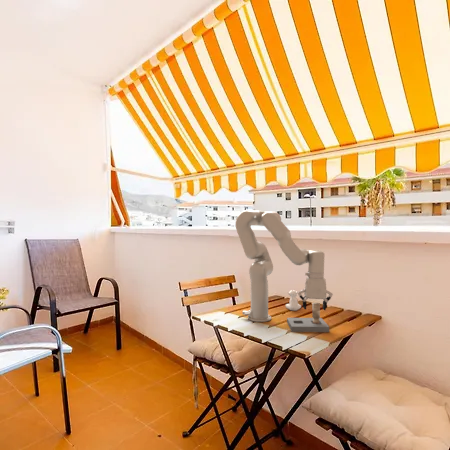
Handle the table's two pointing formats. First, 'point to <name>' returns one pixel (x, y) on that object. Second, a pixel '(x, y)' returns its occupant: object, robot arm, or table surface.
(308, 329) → the hole board
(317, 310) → the birch peg
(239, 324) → the table surface
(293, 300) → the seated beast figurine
